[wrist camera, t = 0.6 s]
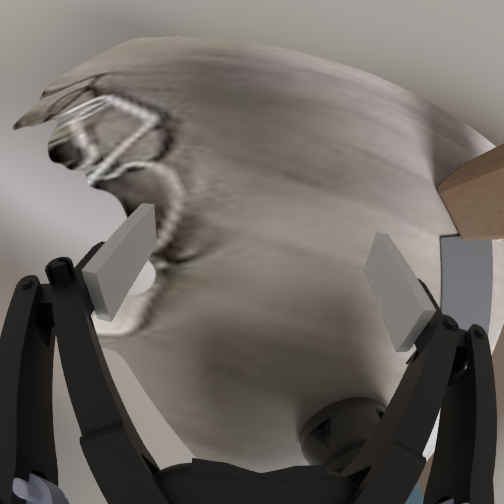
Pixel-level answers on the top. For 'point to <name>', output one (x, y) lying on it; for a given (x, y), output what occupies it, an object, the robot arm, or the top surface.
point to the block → (477, 196)
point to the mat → (466, 281)
